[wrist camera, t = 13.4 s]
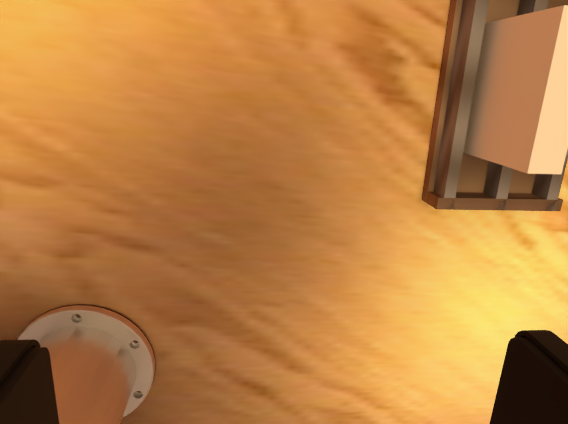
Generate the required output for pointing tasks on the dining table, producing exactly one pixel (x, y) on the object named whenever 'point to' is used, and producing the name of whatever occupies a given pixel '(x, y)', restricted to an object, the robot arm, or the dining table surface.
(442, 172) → the dark wooden tray
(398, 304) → the dining table surface
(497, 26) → the door panel
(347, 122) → the dining table surface
